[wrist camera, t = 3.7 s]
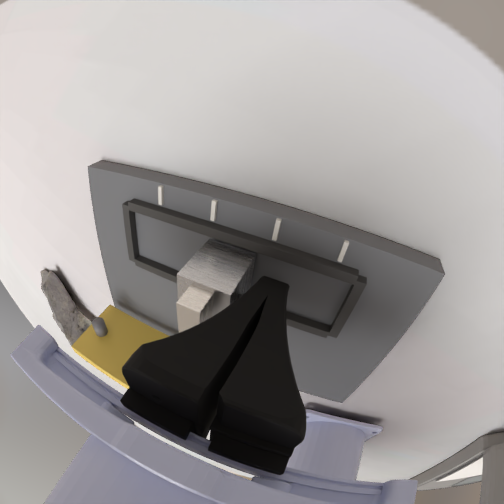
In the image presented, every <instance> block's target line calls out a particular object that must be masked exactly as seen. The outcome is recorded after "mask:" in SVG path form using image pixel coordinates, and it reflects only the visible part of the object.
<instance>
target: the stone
mask: <svg viewBox="0 0 504 504" xmlns="http://www.w3.org/2000/svg"><path fill="white" fill-rule="evenodd" d="M41 277H42V283H41V285H42V286H41V287H42V288H41V289H42V291H43V293H44V294H45V296H46V297H47V299H48V302H49V305H50V307H51V310H52V312H53V318H54V320H55V321H56V323H57V324H58V326H59V327H60V329H61V331H62V332H63V333H64V334H65V336H66V338H67V339H68V341H69V343H70V345H71V347H72V345H73V344H74V343H75V342H76V340H77V339H78V338H79V337H80V336H81V335H82V334H83V333H84V332H85V331H86V330H87V328H88V327H89V326H90V325H91V324H92V322H91V321H90V320H89V319H88V318H87V317H85V315H83V314H82V313H81V312H80V311H78V310H77V308H76V305H75V302H74V301H73V300H72V299H71V297H70V295H69V294H68V292H67V290H66V289H65V287H64V285H63V284H62V282H61V281H60V280H59V278H58V276H57V275H56V274H55V273H54V272H52V271H50V272H47V271H46V270H43V271H41ZM86 362H87V361H86ZM88 363H89V362H88Z"/></svg>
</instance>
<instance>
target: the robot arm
mask: <svg viewBox="0 0 504 504" xmlns="http://www.w3.org/2000/svg"><path fill="white" fill-rule="evenodd" d="M289 287H290V286H289V284H287V283H284V282H281V281H278V280H275V279H272V278H270V277H267V276H262V277H261V278H260V279H259V280H258V281H257V282H256V283H255V284H254V285H253V286H252V287H251V288H250V289H249V290H248V291H247V292H246V293H244V294H243V295H242V296H241V297H239V298H238V299H237V300H236V301H234V302H233V303H232V304H230V305H229V306H228V307H226V308H225V309H223V310H222V311H220V312H219V313H217V314H216V315H214V316H212V317H211V318H209V319H207V320H205V321H204V322H202V323H200V324H198V325H196V326H194V327H192V328H189V329H187V330H185V331H182V332H180V333H177V334H174V335H172V336H169V337H166V338H163V339H160V340H156V341H153V342H149V343H145V344H142V345H141V346H140V347H139V348H138V349H137V350H136V351H135V352H134V353H133V354H132V355H131V356H130V358H129V359H128V360H127V362H126V363H125V364H124V366H123V367H122V373H123V376H124V378H125V380H126V382H127V384H128V385H129V389H128V390H127V391H126V393H125V394H124V395H123V394H121V393H120V392H118V391H117V390H115V389H113V388H112V387H111V386H109V385H108V384H106V383H105V382H103V381H102V380H100V379H99V378H98V377H96V376H95V375H93V374H92V373H91V372H89V371H88V370H87V369H85V368H84V367H83V366H81V365H80V364H79V363H78V362H76V361H75V360H74V359H73V358H71V357H70V356H69V355H68V354H66V353H65V352H64V351H63V350H62V349H60V348H59V347H58V344H57V342H56V341H55V339H54V338H53V337H52V336H51V335H50V334H49V333H48V332H47V331H46V330H45V329H43V328H42V327H41V326H40V325H38V326H37V327H36V328H35V329H34V330H33V331H32V332H31V333H30V334H29V335H28V336H27V337H26V338H25V339H24V340H23V341H22V342H21V344H20V345H19V346H18V347H17V348H16V349H15V350H14V351H13V352H12V353H11V357H12V358H13V360H14V361H15V362H16V363H17V364H18V365H19V367H20V368H21V369H22V370H23V371H24V372H25V374H26V375H27V376H28V377H29V378H30V379H31V380H32V381H33V382H34V383H35V384H36V385H37V386H38V387H39V389H41V391H42V392H43V393H45V395H47V396H48V397H49V398H50V399H51V400H52V401H53V402H54V403H55V404H56V405H57V406H58V407H59V408H61V410H63V411H64V412H65V413H66V414H67V415H68V416H70V417H71V418H72V419H73V420H74V421H75V422H77V423H78V424H79V425H80V426H82V427H83V428H84V429H85V430H87V431H88V432H89V433H91V435H90V436H89V438H88V439H87V441H86V442H85V443H84V445H83V446H82V448H81V449H80V450H79V452H78V453H77V455H76V456H75V458H74V459H73V461H72V462H71V463H70V465H69V467H68V468H67V469H66V471H65V472H64V474H63V475H62V477H61V478H60V480H59V481H58V483H57V484H56V486H55V487H54V489H53V490H52V492H51V493H50V495H49V496H48V498H47V499H46V501H45V502H44V504H414V501H415V496H416V491H417V484H418V481H417V480H391V481H387V482H385V483H376V482H365V481H357V480H356V478H357V473H358V469H359V465H360V460H361V455H362V450H363V445H364V442H365V441H366V440H368V439H370V438H372V437H373V436H375V435H376V434H378V433H380V432H381V431H382V429H383V427H382V426H379V425H373V424H368V423H363V422H358V421H354V420H349V419H345V418H341V417H336V416H332V415H328V414H325V413H321V412H317V411H313V410H310V409H305V407H304V404H303V402H302V399H301V396H300V393H299V390H298V387H297V384H296V380H295V376H294V372H293V368H292V364H291V358H290V353H289V346H288V338H287V324H286V306H287V296H288V291H289ZM124 414H125V415H124ZM127 416H128V417H129V418H128V417H127ZM130 418H131V419H133V420H134V421H136V422H138V423H139V424H141V425H143V426H144V427H146V428H148V429H150V430H151V431H153V432H155V433H157V434H159V435H160V436H162V437H164V438H166V439H168V440H170V441H172V442H174V443H176V444H178V445H180V446H182V447H184V448H186V449H188V450H191V451H193V452H195V453H197V454H199V455H202V456H204V457H206V458H209V459H211V460H214V461H216V462H219V463H221V464H224V465H226V466H229V467H232V468H234V469H237V470H240V471H243V472H246V473H249V474H252V475H255V477H253V478H252V480H251V481H250V480H247V479H245V478H242V477H239V476H237V475H234V474H232V473H230V472H227V471H225V470H223V469H220V468H218V467H216V466H213V465H211V464H209V463H207V462H204V461H202V460H200V459H198V458H196V457H194V456H191V455H189V454H187V453H185V452H183V451H181V450H179V449H177V448H175V447H173V446H171V445H169V444H167V443H165V442H163V441H161V440H159V439H157V438H156V437H154V436H152V435H150V434H148V433H147V432H145V431H143V430H141V429H140V428H138V427H136V426H135V425H134V421H132V420H131V419H130ZM209 430H211V431H210V440H207V439H206V437H207V435H208V433H209ZM256 476H258V477H256ZM261 477H262V478H261Z"/></svg>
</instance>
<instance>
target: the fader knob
mask: <svg viewBox="0 0 504 504" xmlns="http://www.w3.org/2000/svg"><path fill="white" fill-rule="evenodd" d="M255 259H256V254H255V253H252V252H249V251H246V250H243V249H240V248H237V247H234V246H231V245H228V244H225V243H222V242H219V241H216V240H213V239H209V240H208V241H207V242H206V243H205V244H204V245H203V246H202V247H201V248H200V249H199V251H198V252H197V253H196V254H195V255H194V256H193V257H192V258H191V259H190V260H189V261H188V262H187V264H186V265H185V266H184V267H183V268H182V269H181V270H180V271H179V272H178V273H177V290H178V301H177V302H176V307H177V320H178V331H179V333H180V332H182V331H185V330H187V329H189V328H192V327H194V326H196V325H198V324H200V323H202V322H204V321H205V320H207V319H209V318H211V317H212V316H214V315H216V314H217V313H219V312H220V311H222V310H223V309H225V308H226V307H228V306H229V305H230V304H232V303H233V302H234V301H236V300H237V299H238V298H239V297H241V296H242V295H243V294H244V293H246V292H247V291H248V290H249V289H250V285H251V280H252V275H253V270H254V264H255Z"/></svg>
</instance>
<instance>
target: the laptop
mask: <svg viewBox="0 0 504 504" xmlns="http://www.w3.org/2000/svg"><path fill="white" fill-rule="evenodd" d="M409 480H417V481H418V484H417V491H421V490H433V489H441V488H448V487H455V486H462V485H467V484H472V483H477V482H481V481H482V485H481V495H480V503H479V504H504V432H499V433H493V434H487V435H483V436H481V437H479V438H478V439H477V440H475V441H474V442H473V443H471V444H470V445H468V446H467V447H465V448H464V449H462V450H461V451H459V452H458V453H456V454H455V455H453V456H451V457H450V458H448V459H446V460H445V461H443V462H441V463H440V464H438V465H436V466H434V467H432V468H431V469H429V470H427V471H425V472H423V473H421V474H419V475H417V476H415V477H413V478H411V479H409Z"/></svg>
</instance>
